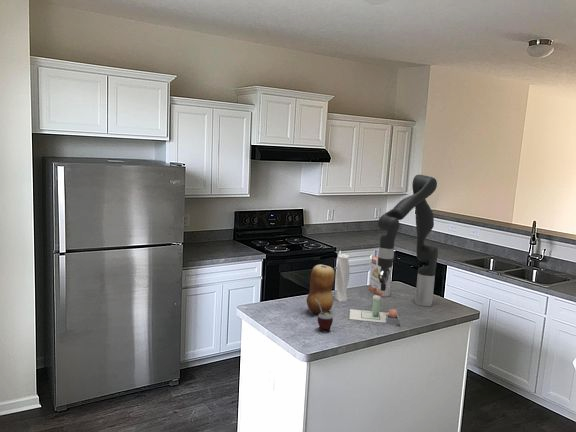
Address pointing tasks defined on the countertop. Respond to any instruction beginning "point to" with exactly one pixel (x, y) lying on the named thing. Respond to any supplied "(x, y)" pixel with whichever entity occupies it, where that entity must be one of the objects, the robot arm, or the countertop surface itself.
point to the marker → (376, 305)
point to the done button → (393, 313)
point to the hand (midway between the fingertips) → (383, 290)
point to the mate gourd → (324, 320)
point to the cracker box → (374, 279)
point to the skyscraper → (342, 277)
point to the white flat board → (368, 316)
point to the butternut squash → (321, 289)
